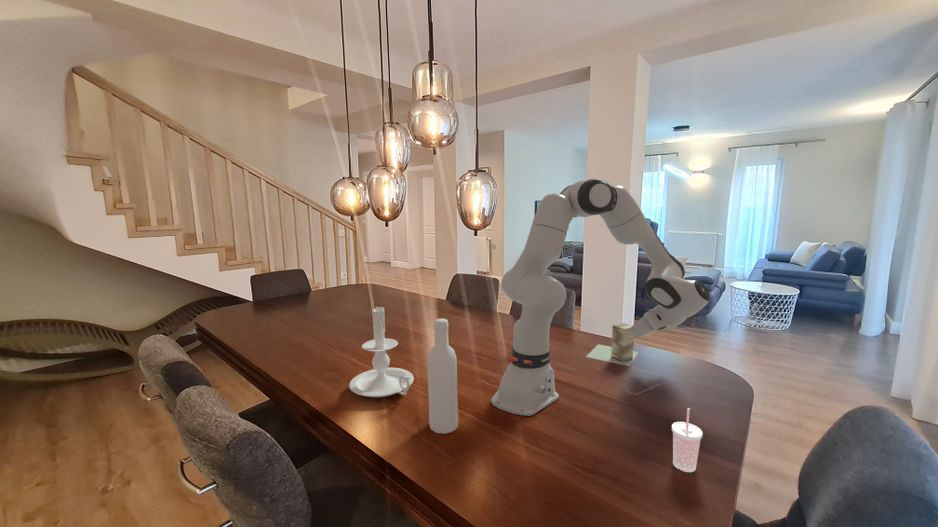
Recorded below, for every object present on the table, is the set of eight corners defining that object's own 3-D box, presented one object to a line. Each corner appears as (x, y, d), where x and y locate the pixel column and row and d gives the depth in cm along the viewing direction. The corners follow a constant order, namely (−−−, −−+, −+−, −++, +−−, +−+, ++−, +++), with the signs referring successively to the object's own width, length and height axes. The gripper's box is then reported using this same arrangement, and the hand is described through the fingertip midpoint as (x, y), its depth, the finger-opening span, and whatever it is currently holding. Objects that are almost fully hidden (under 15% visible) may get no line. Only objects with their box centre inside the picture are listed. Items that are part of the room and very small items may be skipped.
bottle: (461, 431, 103) (459, 323, 98) (432, 436, 101) (428, 326, 96) (454, 415, 111) (451, 314, 106) (427, 420, 108) (423, 317, 104)
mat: (629, 367, 141) (629, 366, 141) (585, 357, 150) (585, 356, 150) (638, 353, 154) (638, 352, 154) (598, 345, 163) (598, 344, 163)
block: (632, 359, 147) (634, 326, 145) (623, 362, 144) (625, 328, 142) (620, 354, 152) (621, 322, 150) (611, 357, 149) (612, 325, 147)
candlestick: (383, 418, 110) (377, 323, 106) (337, 391, 126) (331, 308, 122) (435, 391, 125) (432, 307, 121) (388, 370, 141) (385, 296, 137)
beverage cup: (666, 454, 92) (670, 400, 90) (695, 459, 90) (700, 403, 88) (672, 471, 86) (676, 413, 84) (703, 476, 85) (708, 417, 83)
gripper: (678, 303, 138) (651, 322, 148) (642, 313, 127) (616, 333, 137) (689, 318, 135) (661, 337, 145) (654, 329, 124) (627, 349, 134)
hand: (639, 335), depth 141 cm, fingers closed
